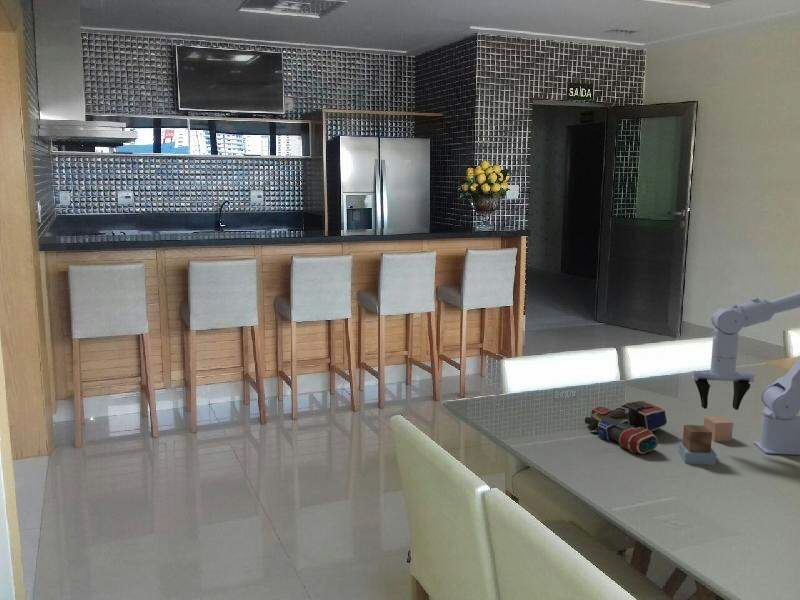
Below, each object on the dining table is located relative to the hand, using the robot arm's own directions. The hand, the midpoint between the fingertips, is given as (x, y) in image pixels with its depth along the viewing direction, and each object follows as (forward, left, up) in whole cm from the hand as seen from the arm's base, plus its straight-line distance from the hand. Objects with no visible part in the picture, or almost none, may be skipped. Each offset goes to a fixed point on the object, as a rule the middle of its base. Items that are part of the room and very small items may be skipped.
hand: (719, 408), depth 181 cm
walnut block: (+8, +10, -7) cm, 15 cm away
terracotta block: (-2, -6, -10) cm, 12 cm away
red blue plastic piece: (+19, -4, -10) cm, 22 cm away
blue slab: (+8, +10, -10) cm, 16 cm away
